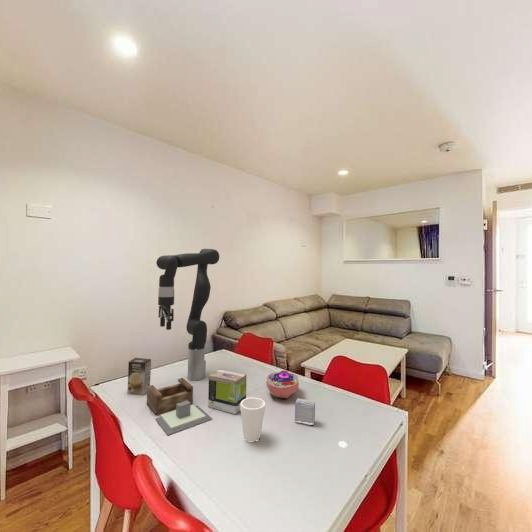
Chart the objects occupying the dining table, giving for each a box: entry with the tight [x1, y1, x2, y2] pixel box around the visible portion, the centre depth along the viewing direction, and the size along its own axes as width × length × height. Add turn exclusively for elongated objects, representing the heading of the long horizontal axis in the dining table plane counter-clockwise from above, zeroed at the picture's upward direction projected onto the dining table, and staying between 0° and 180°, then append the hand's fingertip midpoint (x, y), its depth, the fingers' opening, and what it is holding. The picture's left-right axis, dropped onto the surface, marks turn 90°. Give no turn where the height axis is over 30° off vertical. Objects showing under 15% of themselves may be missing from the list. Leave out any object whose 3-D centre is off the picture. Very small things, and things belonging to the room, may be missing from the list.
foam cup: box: [240, 397, 266, 442], centre depth 107 cm, size 10×9×13 cm
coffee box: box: [127, 357, 152, 396], centre depth 143 cm, size 9×6×16 cm
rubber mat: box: [154, 405, 213, 437], centre depth 118 cm, size 19×14×1 cm
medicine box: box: [294, 398, 316, 424], centre depth 119 cm, size 8×4×9 cm, turn 71°
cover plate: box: [159, 400, 206, 430], centre depth 119 cm, size 15×12×6 cm
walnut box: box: [146, 377, 194, 417], centre depth 130 cm, size 17×12×8 cm
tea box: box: [207, 369, 247, 415], centre depth 130 cm, size 15×10×15 cm, turn 65°
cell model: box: [265, 369, 300, 399], centre depth 143 cm, size 17×20×11 cm
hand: (165, 328), depth 141 cm, fingers open, 8 cm apart
